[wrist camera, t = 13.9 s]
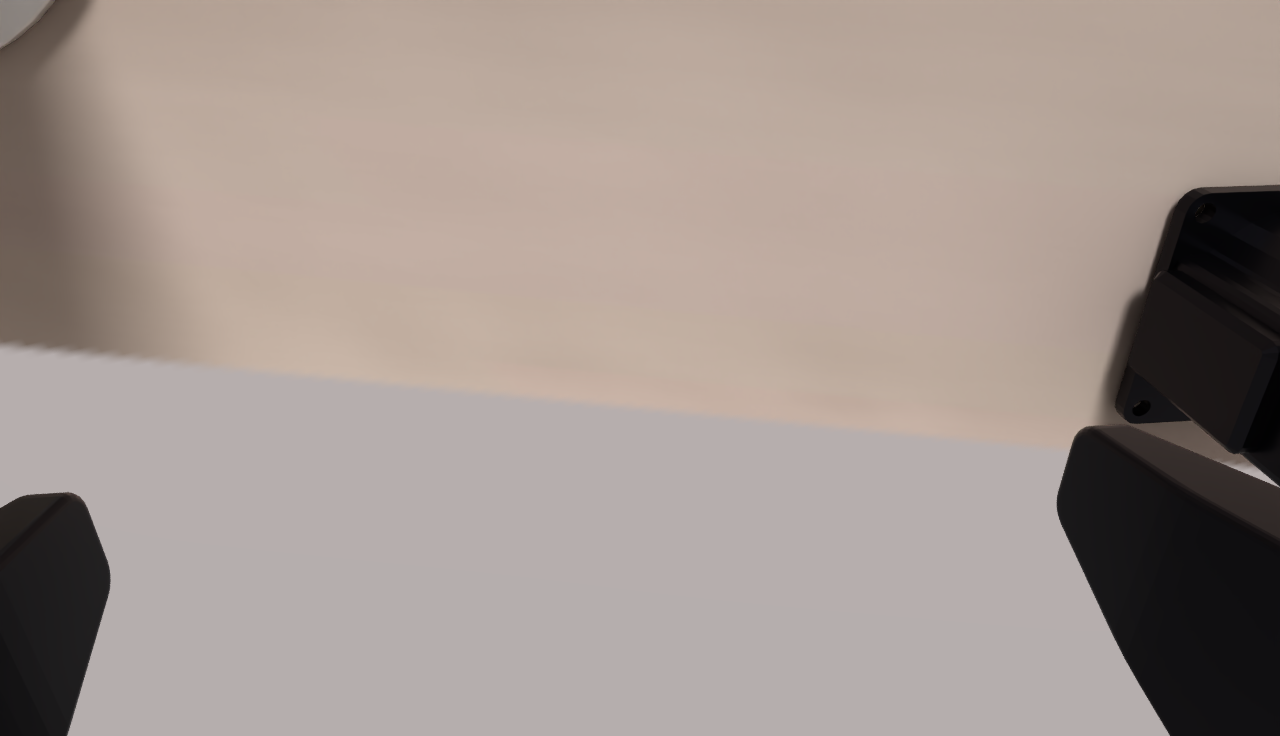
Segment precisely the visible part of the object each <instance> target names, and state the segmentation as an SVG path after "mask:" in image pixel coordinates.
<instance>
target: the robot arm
mask: <svg viewBox="0 0 1280 736" xmlns="http://www.w3.org/2000/svg"><path fill="white" fill-rule="evenodd" d="M1203 204H1205V207H1204V209H1203V211H1202V212H1201V213H1200V214H1199V215H1198V216H1196V217H1195V213H1196V211H1197V210H1198V208H1199V207H1200V206H1202V205H1203ZM1139 401H1141V402H1140V404H1139V405H1137V406H1136V407H1134V405H1135V404H1136V403H1138V402H1139ZM1133 407H1134V408H1133ZM1115 408H1116V410H1117V412H1118V413H1119V414H1120V415H1121V416H1122V417H1123V418H1124V419H1125V420H1126V421H1128V422H1129V423H1135V424H1140V423H1157V422H1174V421H1191V420H1192V421H1193V422H1195V423H1196V424H1197V425H1198V426H1199V427H1200V428H1202V429H1203V430H1204V431H1205V432H1206V433H1207V434H1209V435H1210V436H1211V437H1212V438H1213V439H1214V440H1216V441H1217V442H1218V443H1219V444H1220V445H1222V446H1223V447H1224V448H1225V449H1226V450H1227V451H1229V452H1231V453H1233V454H1239V453H1240V454H1242V455H1243V456H1244V457H1245V458H1246V459H1247V460H1249V461H1250V462H1251V463H1252V464H1253V465H1255V466H1256V467H1257V468H1258V469H1259V470H1261V471H1262V472H1263V473H1264V474H1265V475H1267V476H1268V477H1269V478H1270V479H1271V480H1273V481H1274V482H1275V483H1276V484H1277V485H1279V486H1280V185H1264V186H1234V187H1203V188H1197V189H1193V190H1191V191H1190V192H1188V193H1186V194H1185V195H1184V196H1183V197H1182V198H1181V199H1180V200H1179V202H1178V204H1177V206H1176V208H1175V211H1174V214H1173V218H1172V221H1171V224H1170V227H1169V231H1168V234H1167V237H1166V240H1165V243H1164V247H1163V250H1162V253H1161V256H1160V260H1159V263H1158V266H1157V269H1156V273H1155V276H1154V279H1153V282H1152V285H1151V288H1150V292H1149V295H1148V298H1147V301H1146V304H1145V308H1144V311H1143V314H1142V317H1141V321H1140V324H1139V327H1138V330H1137V334H1136V337H1135V340H1134V343H1133V346H1132V350H1131V353H1130V356H1129V359H1128V363H1127V366H1126V369H1125V373H1124V376H1123V379H1122V382H1121V386H1120V389H1119V392H1118V395H1117V398H1116V403H1115ZM1057 512H1058V516H1059V520H1060V522H1061V525H1062V527H1063V529H1064V531H1065V533H1066V536H1067V538H1068V540H1069V542H1070V544H1071V546H1072V548H1073V550H1074V552H1075V555H1076V557H1077V559H1078V561H1079V563H1080V565H1081V568H1082V570H1083V572H1084V574H1085V576H1086V578H1087V581H1088V583H1089V585H1090V587H1091V589H1092V591H1093V594H1094V596H1095V598H1096V600H1097V602H1098V604H1099V606H1100V609H1101V610H1102V613H1103V615H1104V617H1105V619H1106V621H1107V624H1108V626H1109V628H1110V630H1111V632H1112V634H1113V636H1114V638H1115V640H1116V642H1117V644H1118V646H1119V648H1120V650H1121V652H1122V654H1123V656H1124V658H1125V660H1126V662H1127V663H1128V665H1129V667H1130V669H1131V670H1132V672H1133V674H1134V676H1135V678H1136V679H1137V681H1138V683H1139V685H1140V686H1141V688H1142V690H1143V691H1144V693H1145V695H1146V696H1147V698H1148V700H1149V701H1150V703H1151V705H1152V706H1153V708H1154V710H1155V711H1156V713H1157V715H1158V716H1159V718H1160V720H1161V721H1162V723H1163V725H1164V726H1165V728H1166V730H1167V731H1168V733H1169V735H1170V736H1280V488H1279V487H1277V486H1274V485H1272V484H1270V483H1267V482H1265V481H1262V480H1260V479H1258V478H1255V477H1253V476H1250V475H1248V474H1245V473H1243V472H1241V471H1238V470H1236V469H1233V468H1231V467H1228V466H1226V465H1224V464H1221V463H1219V462H1216V461H1214V460H1211V459H1209V458H1207V457H1204V456H1202V455H1199V454H1197V453H1194V452H1192V451H1190V450H1187V449H1185V448H1182V447H1180V446H1177V445H1175V444H1173V443H1170V442H1168V441H1165V440H1163V439H1161V438H1158V437H1156V436H1153V435H1151V434H1148V433H1146V432H1144V431H1141V430H1139V429H1136V428H1134V427H1131V426H1128V425H1122V424H1116V425H1101V426H1088V427H1085V428H1083V429H1081V430H1080V431H1079V432H1078V433H1077V434H1076V436H1075V437H1074V440H1073V442H1072V446H1071V449H1070V453H1069V456H1068V460H1067V464H1066V467H1065V470H1064V473H1063V477H1062V480H1061V484H1060V488H1059V491H1058V495H1057ZM109 590H110V570H109V565H108V561H107V559H106V556H105V553H104V551H103V548H102V545H101V543H100V540H99V537H98V535H97V532H96V530H95V527H94V525H93V522H92V519H91V516H90V514H89V511H88V508H87V507H86V505H85V503H84V501H83V500H82V499H81V498H80V497H79V496H77V495H75V494H73V493H69V492H67V493H50V494H35V495H26V496H22V497H19V498H17V499H15V500H14V501H12V502H10V503H8V504H7V505H5V506H3V507H1V508H0V736H67V734H68V731H69V728H70V725H71V721H72V718H73V714H74V711H75V708H76V704H77V701H78V697H79V694H80V691H81V687H82V683H83V680H84V677H85V673H86V670H87V667H88V663H89V660H90V656H91V653H92V649H93V646H94V643H95V639H96V636H97V632H98V629H99V626H100V622H101V618H102V615H103V612H104V608H105V605H106V601H107V598H108V594H109Z"/></svg>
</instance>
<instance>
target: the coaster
mask: <svg viewBox="0 0 1280 736" xmlns="http://www.w3.org/2000/svg"><path fill="white" fill-rule="evenodd" d="M54 2H55V0H0V49H1V48H3V47H5V46H7V45H8V44H10V43H12V42H13V41H15V40H17V39H18V38H19V37H20V36H21V35H22V34H24V33H25V32H26V31H27V30H28V29H29V28H31V27H32V26H33V25H34V24H35V23H36V22H38V21H39V20H40V19H41V18H42V16H43V15H44V14H45V13H46V11H47V10H48V9H49V8H50V7H51V5H52V4H53V3H54Z"/></svg>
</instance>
